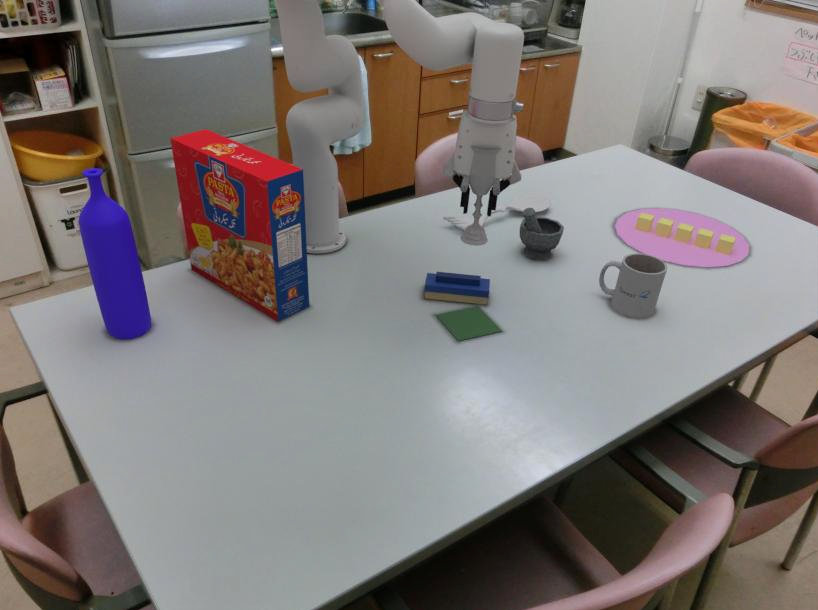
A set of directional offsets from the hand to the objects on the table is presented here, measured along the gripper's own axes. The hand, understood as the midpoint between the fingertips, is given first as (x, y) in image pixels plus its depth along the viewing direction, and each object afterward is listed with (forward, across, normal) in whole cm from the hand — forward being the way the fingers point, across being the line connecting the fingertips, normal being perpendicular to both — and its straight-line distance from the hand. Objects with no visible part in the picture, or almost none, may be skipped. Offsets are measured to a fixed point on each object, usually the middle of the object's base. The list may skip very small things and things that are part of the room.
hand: (477, 211), depth 123 cm
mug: (+22, -33, -10) cm, 41 cm away
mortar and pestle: (+22, -15, -29) cm, 39 cm away
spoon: (+22, -6, -46) cm, 51 cm away
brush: (+22, +2, -6) cm, 23 cm away
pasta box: (+22, +44, 0) cm, 50 cm away
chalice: (+6, 0, 0) cm, 6 cm away
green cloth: (+22, -1, +4) cm, 22 cm away
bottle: (+22, +61, +18) cm, 68 cm away
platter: (+22, -51, -46) cm, 72 cm away
